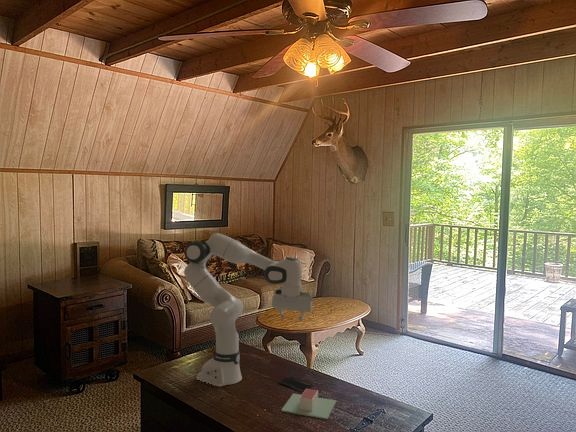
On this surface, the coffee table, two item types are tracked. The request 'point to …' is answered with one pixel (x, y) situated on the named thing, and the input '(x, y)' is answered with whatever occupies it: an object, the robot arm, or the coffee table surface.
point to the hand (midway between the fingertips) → (291, 318)
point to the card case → (309, 399)
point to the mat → (319, 411)
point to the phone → (296, 384)
